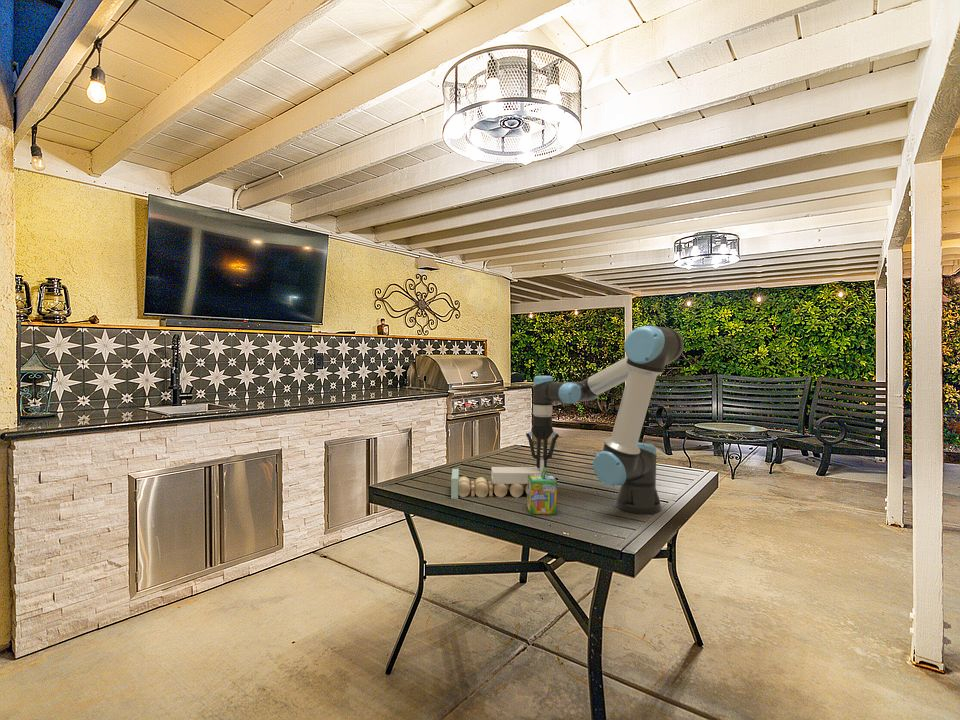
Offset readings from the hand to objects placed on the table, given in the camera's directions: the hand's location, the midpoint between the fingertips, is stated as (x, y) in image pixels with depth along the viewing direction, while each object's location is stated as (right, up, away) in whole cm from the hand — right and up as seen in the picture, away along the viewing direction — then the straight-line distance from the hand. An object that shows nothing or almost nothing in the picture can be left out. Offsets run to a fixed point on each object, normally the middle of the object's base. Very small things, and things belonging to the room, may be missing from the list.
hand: (541, 476), depth 190 cm
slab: (-10, -2, 0) cm, 10 cm away
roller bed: (-17, -6, -1) cm, 18 cm away
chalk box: (-3, -7, -21) cm, 23 cm away
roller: (-23, -7, -1) cm, 24 cm away
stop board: (-33, -6, -1) cm, 34 cm away
